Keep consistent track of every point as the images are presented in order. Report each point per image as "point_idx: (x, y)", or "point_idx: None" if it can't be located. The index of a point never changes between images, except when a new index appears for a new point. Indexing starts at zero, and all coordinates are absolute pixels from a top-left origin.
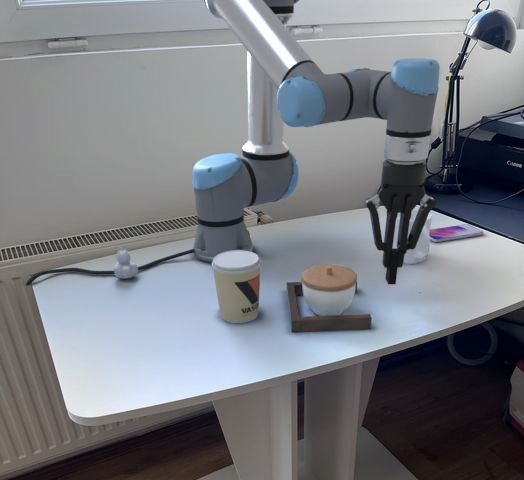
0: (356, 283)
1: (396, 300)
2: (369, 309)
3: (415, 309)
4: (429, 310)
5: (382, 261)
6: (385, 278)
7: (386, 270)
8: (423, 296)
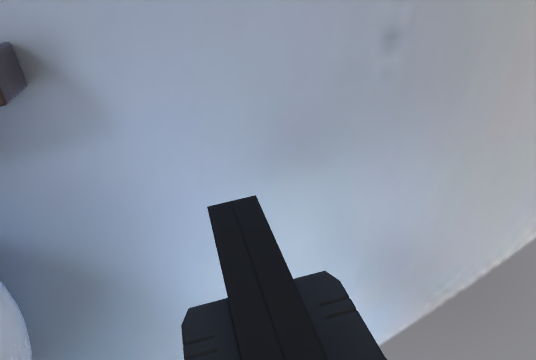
0: (3, 105)
1: (263, 145)
2: (131, 254)
3: (338, 217)
4: (392, 215)
5: (183, 338)
6: (208, 210)
7: (216, 244)
8: (400, 82)
